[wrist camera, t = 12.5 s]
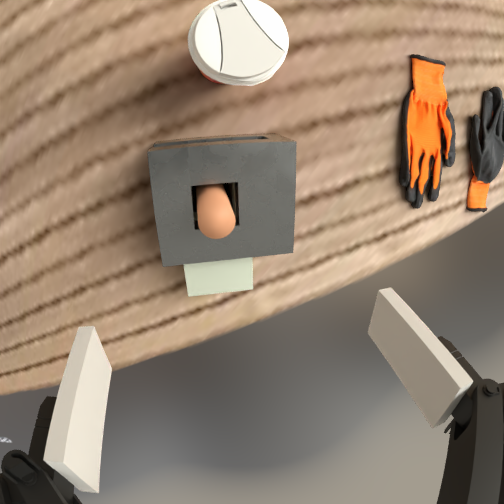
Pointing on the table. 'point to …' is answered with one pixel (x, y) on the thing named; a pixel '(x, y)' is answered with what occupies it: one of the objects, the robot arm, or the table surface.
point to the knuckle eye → (219, 272)
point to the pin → (214, 211)
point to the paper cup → (238, 42)
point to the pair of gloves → (446, 137)
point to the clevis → (246, 195)
